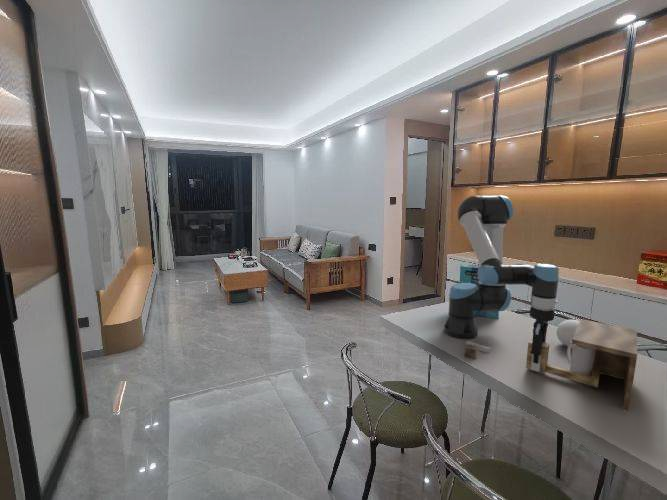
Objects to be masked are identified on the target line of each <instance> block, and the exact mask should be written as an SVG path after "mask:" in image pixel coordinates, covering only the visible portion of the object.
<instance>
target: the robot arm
mask: <svg viewBox="0 0 667 500" xmlns="http://www.w3.org/2000/svg"><path fill="white" fill-rule="evenodd" d="M513 215H514V206H513V202H512V200H511V199H510V198H509V197H508V196H506V195H497V194H495V195H494V194H493V195H489V194H488V195H477V194H476V195H471V196H468V197H467V198H465V199H464V200H462V202H461V203H460V205H459V207H458V210H457V220H458V222H459V225H460V226H461V227H463V229H464V230H465V233H466V235H467V238H468V240H469V242H470V245H471V247H472V250H473V252H474V254H475V257H476V259H477V261H478V263H479V265H480V267H479V269H478V279H479V282H478V287H477V286H476V285H475V284H472V283H460V282H459V283H456V284H453V285H451V287H450V288H449V294H448V296H449V297H448V300H449V301H448V315H447V318H446V320H445V323H444V326H443V332H444V333H445V334H446V335H448V336H450V337H453V338H457V339H464V340H466V339H467V340H468V339H469V340H470V339H471V340H472V339H475V338H477V336H479V335H478V333H479V329H478V326H477V323H476V322H477V321H476V319H475V317H476V316H475V312H490V311H493V312H497V311H499V312H504V311H506V310H507V309H508V308H509V307H510V304H511V300H512V294H511V290H510V288H509V287H507V285H526V286H529V287H531V294H530V307H529V317H530V318H532V319H535V322H533V329H532V339H533V341H532V351H530V353H531V354H532V362H531V369H530V370H531V371H535V372H537V373H541V372H540V363H541V347H542V342H545V343H546V341H547V339H546V338H547V331H548V326H549V322H551V321H553V320H555V312H556V310H555V309H556V304H558V303H559V301H558V300H557V296H558V295H557V294H558V285H559V280H560V275H559V273H560V272H559V267H558V266H556V265H554V264H549V263H536V264H535V265H532V264H530V263H525V262H519V263H516V264H503V261H504V260H503V256H504V254H503V252H504V251H503V250H504V228H505V227H506V226H507V225H508V221H510V220H511V219H512V217H513Z"/></svg>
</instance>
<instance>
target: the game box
mask: <svg viewBox="0 0 667 500" xmlns="http://www.w3.org/2000/svg"><path fill="white" fill-rule="evenodd" d="M459 267H460V268H459V269H460V271H459V283H472V284H475V285H476V286H477V287H478V282H479V279H478V269H479V267H480V264H479V265H478V264H477V265H476V264H463V263H462V264H460V265H459ZM499 313H500V311H497V312H493V311H490V312H475V317H481V318H489V319H497V320H498V319H499V317H500V316H499Z"/></svg>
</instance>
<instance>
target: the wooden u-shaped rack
mask: <svg viewBox="0 0 667 500" xmlns="http://www.w3.org/2000/svg"><path fill="white" fill-rule="evenodd" d="M532 341H533V338H530V339H529V341H528V343H527V344H528V345H527V352H526V354H527V355H526V363H525V368H526V369H529V370H531V362H532V354H531V353H530V351H532ZM549 350H550V343H548V342H546V341H545V342H542V347H541V363H540V372H539V373H542V374H545V373H547V374H551V375H554V376H557V377H561V378H564V379H568V380H571V381H575V382H578V383H580V384H585V385H588V386H590V387H594V388H598V387H599V382H600V377H601V374H602V373H601V365H602V363H599V362H595V363H594V367H593V371H592V375H591V376H588V375H584V374H581V373H577V372H574V371H570V369H566V368H562V367H559V366H555V365H551V364H549V363H548V361H549V360H548V359H549V352H550V351H549Z"/></svg>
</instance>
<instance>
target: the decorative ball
mask: <svg viewBox="0 0 667 500" xmlns="http://www.w3.org/2000/svg"><path fill="white" fill-rule="evenodd" d="M579 322H580V320H578V319H566V320H564V321H562V322H560V323H559V324H558V325H557V328H556V336H557V339H558V340H559V342H561V344H562V345H564V346H566V348H568V345H569V344H570V342H571V341H572V339H573V337H574V334H575V332H576V329H577V327H578V324H579Z"/></svg>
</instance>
